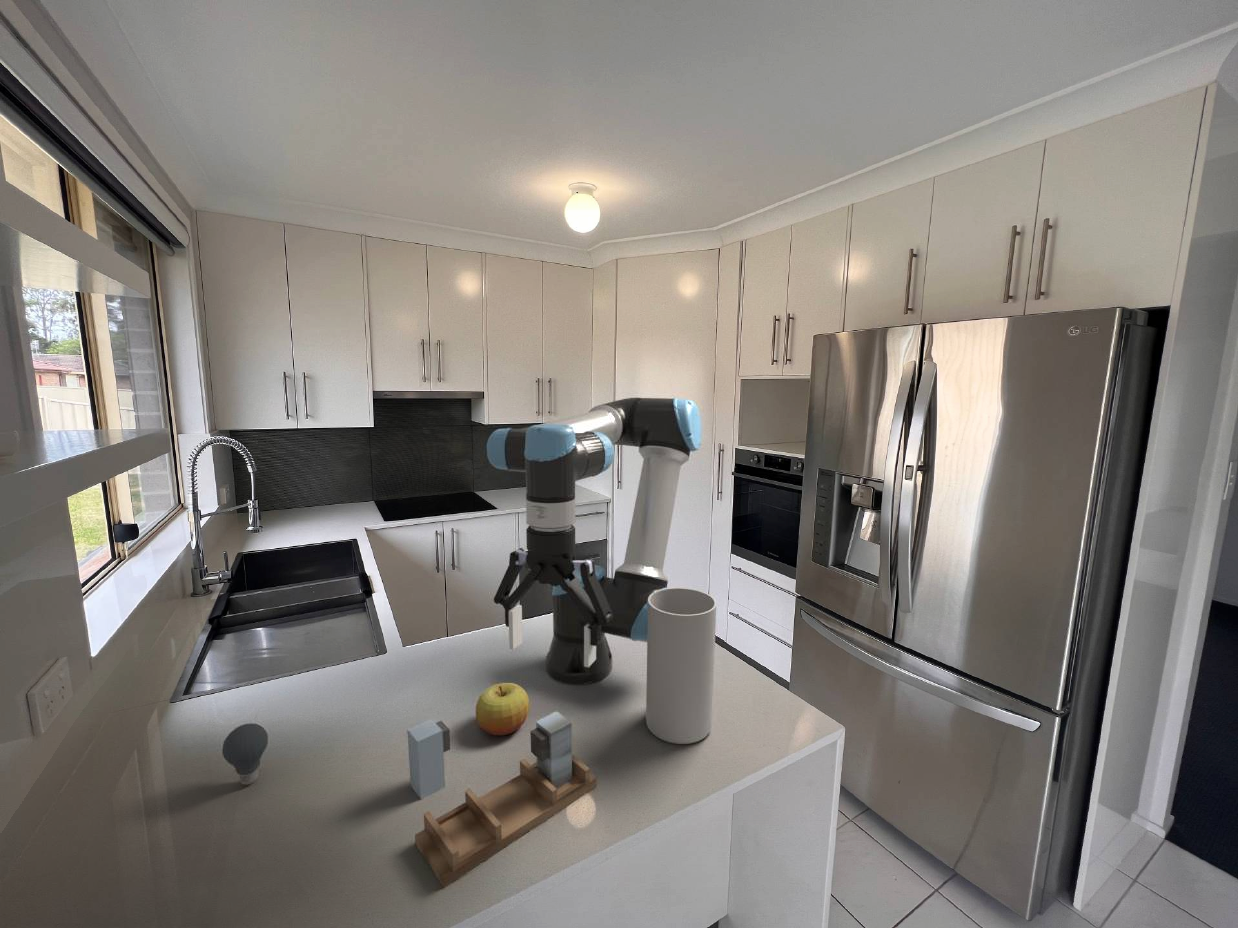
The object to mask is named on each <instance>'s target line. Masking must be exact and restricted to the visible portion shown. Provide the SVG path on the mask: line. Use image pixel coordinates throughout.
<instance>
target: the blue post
mask: <svg viewBox="0 0 1238 928" xmlns="http://www.w3.org/2000/svg"><path fill="white" fill-rule="evenodd" d="M406 730H407V745H408V746H407V748H408V749H407V750H408V764H409V766H408V767H409V777H410V778H409V781H410V786H411V788H412V790H413V791H414V792H415V794H417V796H418V797H419V798H420V800H423V799H424V798H426V797H428V796H430V795H432V794H434V793H436V792H438V791H440V790H441V789H442V790H443V788H445V787H446V779H445V777H446V775H445V759H444V754H445V753H446V752H448V751H450V750H451V737H450V736H451V735H450V733H451V731H450V728H449V727H448V726H447V725H446V724H445V723H444V722H443V721H442V720H439V721H437V722H435V721H434V720H433V718H430V719H427V720H425V721H424V722H421V723H419V724H417V725H414V726H411V727H409V728H407V729H406Z"/></svg>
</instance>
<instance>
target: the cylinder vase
mask: <svg viewBox="0 0 1238 928" xmlns="http://www.w3.org/2000/svg"><path fill="white" fill-rule="evenodd" d="M716 625H717V600H716V599H715V597H714V596H712V595H711V594H709V593H707V592H704V591H701V590H698V589H693V588H689V587H667V589H662V590H658V591H656V592H654V593H652V594H651V595H650V596H649V598H648V630H647V642H646V688H645V689H646V692H645V694H646V697H645V698H646V699H645V700H646V701H645V702H646V703H645V706H646V707H645V708H646V709H645V722H646V726H647V728H648V730H650V732H651V734H653V735H654V736H655V737H657V738H658V739H660V740H662V741H665V742H666V743H669V744H670V743H671V744H676V745H688V744H690V745H691V744H694V743H697V742H700V741H702V740H703V739H705V738H706V737H707V736H708V735H709V734H710V733H711V730H712V725H713V703H714V702H713V700H714V678H715V677H714V675H715V653H716V652H715V651H716V650H715V649H716V628H717V627H716Z"/></svg>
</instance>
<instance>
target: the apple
mask: <svg viewBox="0 0 1238 928" xmlns="http://www.w3.org/2000/svg"><path fill="white" fill-rule="evenodd" d="M529 713H530V699H529V695H528V693H527V692H526V690H525V689H524V688H523V687H521V686H520V684H517V683H514V682H501V683H497V684H494V685H492V686H489V687H488V688H485V690H484V691H483V692H482V693H481V694H480V696H479V697H478V700H477V702H476V705H475V718H476V721H477V723H478V725H479V726H480V729H482V730H484V731H485V732H486V733H488V734H489V735H494V736H505V735H509V734H512V733H513V732H515V731H517V730H519V729H520V728H521V727H522V726H523V725H524V723H525V722H526V720H527V718H528V715H529Z"/></svg>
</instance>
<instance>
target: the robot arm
mask: <svg viewBox="0 0 1238 928" xmlns="http://www.w3.org/2000/svg"><path fill="white" fill-rule="evenodd" d="M701 420H702V419H701V415H700V411H699V407H698V406H697V404H696V403H695V402H694V401H693V400H691V399H687V398H685V399H683V398H677V397H673V398H663V397H662V398H661V397H660V398H659V397H658V398H657V397H655V398H654V397H627V398H623V399H619V400H618V399H617V400H613V401H610V402H607V403H603V404H599V405H596V406H595V405H594V407H592V408H591V409H590V410H589V411H588V412H584V413H580V414H577V415H573V416H568V417H565V418H560V419H557V420H552V421H548V422H545V423H540V424H534V425H531V426H527V427H523V428H512V427H507V428H497V429H496V430H494V431H493V432H492V433H491V434H490V436H489V437H488V440H487V442H486V443H487V444H486V456H487V459H488V461H489V464H490V465H491V466H492V467H494V468H495V469H498V470H505V471H507V472H520V473H525V485H526V486H525V487H526V489H525V490H526V492H525V504H526V505H525V509H526V510H525V514H526V516H525V517H526V518H525V520H526V524H527V525H528V526H527V528H526V533H525V534H526V538H525V539H526V550H527V551H525V550H524V548H522V547H519V548H517V549H516V550H514V551H512V552H510V553H509V560H508V561H509V562H508V566H507V569H506V571H505V572H504V576H503V577H502V579H501V582H500V584H499V586H498V588H497V590H496V593H495V595H494V597H493V603H494V604H496V605H498V604H499V605H501V606H502V608H503V609H504V624H505V627H507V628H508V649H510V650H515V649H516V648H517V647H518V646H520V645H521V644H523V607H522V605H521V604H518V603H520V600H521V599H522V598H523V597H524V596H525V595H526V593H528V591H529V590H530V589H531V587H533V586H534V584H535V583H536V582H539V584H542V585H547V584H548V585H550V586H552V592H551V595H552V625H553V626H552V627H553V628H552V629H553V630H552V631H553V632H552V633H553V635H552V639H551V642H550V646H549V650H548V652H547V655H546V658H545V670H546V671H545V672H546V673H547V675H548V676H549V677H550V678H552V679H553V680H555V681H556V682H559V683H563V684H566V685H574V686H575V685H588V684H592V683H595V682H598V681H601V680H603V679H604V678H606V677H607V676H609V675H610V673H611V671H612V670H613V654H612V652H611V649H610V645H609V643H608V640H607V636H606V634H608V635H611V636H616V637H620V638H624V639H629V640H631V641H633V642H644V643H647V630H648V598H649V596H650V595H651V594H652V593H654V592H656V591H658V590H662V589H667V588H668V583H669V580H668V578H667V576H666V575H665V573H664V570H663V569H664V564H665V558H666V554H667V553H666V551H667V547H668V542H669V535H670V531H671V525H672V519H673V513H674V508H675V501H676V497H677V496H676V494H677V491H678V485H679V478H680V473H681V468H682V465H684V464H686V463H687V462H688V461H690V459H689V458H690V454H691V452H697V451H698V450H699V449H700V446H701V445H702V444H701V443H702V433H703V432H702V431H703V430H702V421H701ZM614 445H616V446H628V447H637V448H638V452H639V455H640V456H641V457H642V458H643V462H642V466H641V470H640V471H641V472H640V475H639V476H640V477H639V481H638V482H639V483H638V487H637V492H636V497H635V501H634V508H633V512H632V516H631V517H632V518H631V524H630V528H629V529H630V530H629V532H628V533H629V534H628V538H627V539H628V540H627V545H626V551H625V554H624V561H623V563H622V564H621V565H620V566H619V567H617V568H616V569H615V570H614V576H613V578H612V577H608V576H607V577H606V575H607V572H606V570H605V568H604V567H602V566H601V565H598V564H596V565H595V562H594V559H593V558H588V559H586V560H577V558H576V555H575V553H576V552H575V551H576V527H575V526H574V525H575V522H576V482H577V481H580V480H583V479H587V478H591V477H597V476H598V475H600V474H601V473H604V472H605V471H607V470H608V469H609V468H610V467H611V466H612V463H613V462H614V458H615V449H614ZM524 564H527V566H528V568H529V570H530V571H529V572H528V573H527V574H526V576H525V577H523V580H521V582H520V583H519V584H518V586H517V587H516V588H515V589H514V590H513V588H514V585H515V583H516V580H517V579H518V578H519V577H518V576H519V574H520V572H521V570H522V568H523V566H524ZM512 590H513V592H511V591H512Z"/></svg>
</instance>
